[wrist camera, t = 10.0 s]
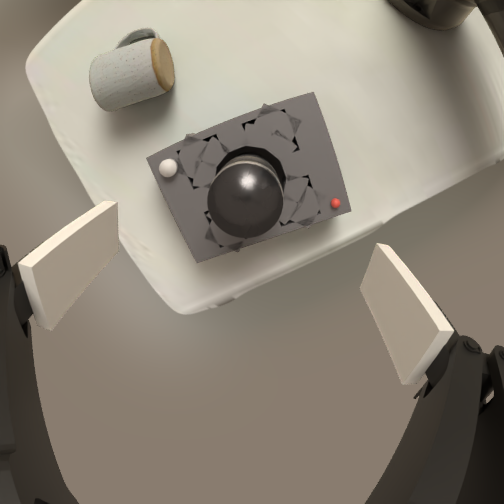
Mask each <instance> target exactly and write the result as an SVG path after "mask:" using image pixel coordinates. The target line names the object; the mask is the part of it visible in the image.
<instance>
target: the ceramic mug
mask: <svg viewBox="0 0 504 504" xmlns="http://www.w3.org/2000/svg"><path fill="white" fill-rule="evenodd" d="M148 36H154V37H155V38H152V39H145V40H142V41H139V42H136V43H133V44H130V45H128V44H129V43H130V42H132V41H133V40H135V39H138V38H142V37H148ZM89 82H90V87H91V91H92V94H93V97H94V99H95V101H96V102H97V104H98V105H99V106H100V107H101V108H102V109H103V110H105V111H109V112H112V111H115V110H118V109H120V108H123V107H126V106H129V105H131V104H134V103H137V102H140V101H143V100H146V99H150V98H153V97H156V96H159V95H161V94H164V93H166V92H168V91H169V90H170V89H171V88H172V86H173V84H174V67H173V61H172V57H171V54H170V51H169V48H168V46H167V44H166V43H165V42H164V41H163V40H161V39H160V37H159V35H158V33H157V32H156V31H155V30H154V29H152V28H142V29H138V30H135V31H132V32H131V33H129V34H127V35H126V36H124V37H123V38H122V39H121V40H120V41H119V42H118V44H117V45H116V47H115V49H114V50H112V51H109V52H106V53H104V54H101V55H99V56H97V57H95V59H94V60H93V61H92V63H91V66H90V71H89Z"/></svg>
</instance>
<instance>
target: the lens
mask: <svg viewBox="0 0 504 504" xmlns="http://www.w3.org/2000/svg"><path fill="white" fill-rule="evenodd" d="M207 205H208V211H209V214H210V216H211V218H212V220H213V221H214V223H215V224H216V225H217V226H218V227H219V228H220V229H221V230H222V231H224V232H225V233H227V234H229V235H231V236H234V237H239V238H252V237H257V236H260V235H262V234H264V233H266V232H267V231H269V230H270V229H271V228H272V227H273V226H274V225H275V224H276V223H277V221H278V219H279V218H280V215H281V213H282V209H283V190H282V187H281V184H280V181H279V178H278V176H277V174H276V171H275V169H274V168H273V166H272V165H271V164H270V162H269V161H268V160H267V159H266V158H265V157H264V156H262V155H260V154H258V153H254V152H246V153H242V154H239V155H237V156H236V157H235V158H233V159H231V160H230V161H229V162H228V163H227V164H226V165H225V166H224V167H223V168H222V169H221V170H220V171H219V173H218V174H217V175H216V176H215V178H214V179H213V181H212V183H211V185H210V189H209V192H208V197H207Z"/></svg>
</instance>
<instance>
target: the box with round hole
mask: <svg viewBox="0 0 504 504" xmlns="http://www.w3.org/2000/svg"><path fill="white" fill-rule="evenodd" d="M246 152H254V153H258V154H260V155H262V156H264V157H265V158H266V159H267V160H268V161H269V162H270V164H271V165H272V166H273V168H274V169H275V171H276V174H277V176H278V178H279V181H280V184H281V187H282V190H283V209H282V213H281V215H280V218H279V219H278V221H277V223H276V224H275V225H274V226H273V227H272V228H271V229H270V230H269V231H267V232H266V233H264V234H262V235H260V236H257V237H252V238H239V237H234V236H231V235H229V234H227V233H225V232H224V231H222V230H221V229H220V228H219V227H218V226H217V225H216V224H215V223H214V221H213V220H212V218H211V216H210V214H209V211H208V205H207V197H208V192H209V189H210V185H211V183H212V181H213V179H214V178H215V176H216V175H217V174H218V173H219V171H220V170H221V169H222V168H223V167H224V166H225V165H226V164H227V163H228V162H229V161H230V160H231V159H233V158H235V157H236V156H237V155H239V154H242V153H246ZM146 159H147V161H148V164H149V166H150V168H151V170H152V172H153V175H154V177H155V179H156V181H157V183H158V185H159V188H160V190H161V192H162V194H163V196H164V198H165V200H166V202H167V204H168V207H169V209H170V211H171V213H172V215H173V217H174V219H175V221H176V223H177V225H178V227H179V229H180V231H181V233H182V235H183V237H184V239H185V241H186V243H187V245H188V247H189V249H190V251H191V253H192V255H193V257H194V259H195V261H196V262H197V263H199V262H202V261H205V260H208V259H211V258H213V257H216V256H219V255H222V254H225V253H228V252H231V251H236V252H239V250H240V248H243V247H246V246H249V245H252V244H255V243H258V242H261V241H264V240H267V239H270V238H272V237H275V236H278V235H281V234H284V233H287V232H290V231H293V230H296V229H299V228H302V227H307V228H310V226H311V224H314V223H317V222H320V221H323V220H326V219H329V218H332V217H335V216H338V215H341V214H344V213H347V212H351V207H350V203H349V200H348V196H347V192H346V188H345V185H344V181H343V178H342V174H341V171H340V167H339V164H338V161H337V157H336V154H335V151H334V148H333V145H332V142H331V139H330V136H329V133H328V130H327V127H326V124H325V121H324V118H323V115H322V113H321V110H320V107H319V104H318V102H317V99H316V97H315V94H314V92H311V93H308V94H304V95H301V96H297V97H294V98H291V99H287V100H284V101H281V102H278V103H275V104H272V105H266V104H263V106H262V108H260V109H257V110H254V111H252V112H249V113H246V114H243V115H241V116H238V117H236V118H233V119H230V120H228V121H225V122H223V123H220V124H218V125H216V126H213V127H211V128H208V129H206V130H204V131H201V132H199V133H197V134H194V133H192V134H186V137H185V139H184V140H182V141H179V142H177V143H175V144H173V145H171V146H169V147H167V148H165V149H163V150H161V151H159V152H157V153H155V154H153V155H151V156H149V157H147V158H146Z"/></svg>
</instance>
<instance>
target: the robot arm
mask: <svg viewBox="0 0 504 504" xmlns="http://www.w3.org/2000/svg"><path fill="white" fill-rule="evenodd" d="M389 1H390V2H391V3H392V4H393V5H394V6H395V7H396V8H397V9H398V10H399V11H400V12H402V13H403V14H404V15H406V16H407V17H408V18H410V19H411V20H413V21H415V22H416V23H418V24H420V25H422V26H425V27H427V28H430V29H434V30H448V29H451V28H454V27H457V26H458V25H460V24H461V23H462V22H463V21H464V20H465V19H466V18H467V16H468V15H469V14H470V13H471V12H472V10H473V9H474V8H475V7H478V8H479V10H480V12H481V13H482V15H483V17H484V19H485V21H486V22H487V24H488V26H489V28H490V30H491V32H492V34H493V35H494V37H495V39H496V41H497V44H498V46H499V48H500V50H501V52H502V54H503V57H504V0H389ZM118 252H119V236H118V206H117V202H113V201H104V202H102V203H100V204H99V205H97V206H96V207H94V208H93V209H91V210H90V211H88V212H87V213H85V214H83V215H82V216H80V217H79V218H77V219H76V220H74V221H73V222H71V223H70V224H69V225H67V226H66V227H64V228H63V229H61V230H60V231H59V232H57V233H56V234H54V235H53V236H52V237H50V238H49V239H48V240H46V241H44V242H42V243H41V244H40V245H38V246H37V247H36V248H35V249H33V250H32V251H31V252H30V253H29V254H27V255H26V256H25V257H23V258H22V259H21V260H19V261H18V262H17V263H16V264H15V265H14V266H13V267H11V264H10V260H9V256H8V252H7V248H6V247H5V246H4V245H0V504H79V503H78V502H77V500H76V499H75V497H74V496H73V495H72V494H71V492H70V491H69V490H68V488H67V487H66V484H65V482H64V480H63V478H62V475H61V472H60V469H59V467H58V464H57V461H56V459H55V455H54V452H53V449H52V446H51V443H50V439H49V436H48V432H47V428H46V425H45V421H44V417H43V412H42V408H41V403H40V398H39V393H38V387H37V381H36V374H35V367H34V359H33V349H32V337H31V326H30V322H29V320H28V319H29V318H30V316H31V315H32V314H34V317H35V320H36V323H37V325H38V326H39V327H42V328H44V329H47V330H49V331H52V330H53V328H54V327H55V326H56V325H57V323H58V322H59V321H60V319H61V318H62V317H63V316H64V314H65V313H66V312H67V311H68V309H69V308H70V307H71V305H72V304H73V303H74V302H75V301H76V299H77V298H78V297H79V296H80V295H81V294H82V292H83V291H84V290H85V289H86V288H87V286H88V285H89V284H90V283H91V282H92V281H93V280H94V278H95V277H96V276H97V275H98V274H99V273H100V271H101V270H102V269H103V268H104V267H105V266H106V265H107V264H108V263H109V262H110V261H111V259H112V258H113V257H114V256H115V255H116V254H117V253H118ZM360 290H361V292H362V294H363V296H364V299H365V301H366V303H367V305H368V307H369V309H370V311H371V313H372V316H373V318H374V320H375V322H376V324H377V326H378V329H379V331H380V333H381V335H382V338H383V340H384V342H385V344H386V347H387V349H388V351H389V354H390V355H391V359H392V361H393V363H394V366H395V368H396V371H397V373H398V376H399V378H400V381H401V383H402V385H405V384H417V382H418V381H419V380H420V379H421V378H422V376H423V375H424V374H425V373H426V375H427V378H428V380H427V382H426V383H425V384H424V385H423V387H422V388H421V389H420V390H419V391H418V393H417V394H416V395H415V396H414V399H416V398H417V397H418V396H419V399H418V402H417V404H416V407H415V409H414V412H413V414H412V417H411V419H410V421H409V424H408V426H407V428H406V430H405V433H404V435H403V437H402V439H401V441H400V443H399V445H398V447H397V449H396V451H395V453H394V455H393V457H392V459H391V461H390V463H389V465H388V466H387V468H386V470H385V472H384V473H383V475H382V477H381V479H380V481H379V482H378V484H377V485H376V487H375V489H374V490H373V492H372V493H371V495H370V496H369V498H368V500H367V501H366V503H365V504H504V347H502V346H499V345H497V346H495V347H494V349H493V350H492V352H491V353H490V354H486V353H483V352H482V349H481V347H480V346H479V344H478V343H477V342H476V341H475V340H473V339H472V338H470V337H468V336H459V334H458V333H457V331H456V330H455V328H454V327H453V325H452V324H451V322H450V321H449V320H448V318H446V315H445V314H444V313H443V312H442V310H441V309H440V307H439V306H438V304H437V303H436V302H435V301H434V300H433V299H431V297H430V296H429V295H428V293H427V292H426V291H425V289H424V288H423V287H422V285H421V284H420V283H419V282H418V280H417V279H416V278H415V276H414V275H413V274H412V273H411V272H410V270H409V269H408V268H407V267H406V265H405V264H404V263H403V262H402V260H401V259H400V258H399V257H398V256H397V255H396V253H395V252H394V251H393V250H392V249H391V248H390V246H388V245H383V244H378V243H376V246H375V249H374V252H373V255H372V258H371V260H370V263H369V266H368V268H367V271H366V274H365V276H364V279H363V281H362V284H361V286H360ZM493 390H494V397H493V398H492V399H491V400H490V401H489V402H488V403H487V404H486V398H487V397H488V396H489V395H490V394H491V392H492V391H493Z"/></svg>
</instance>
